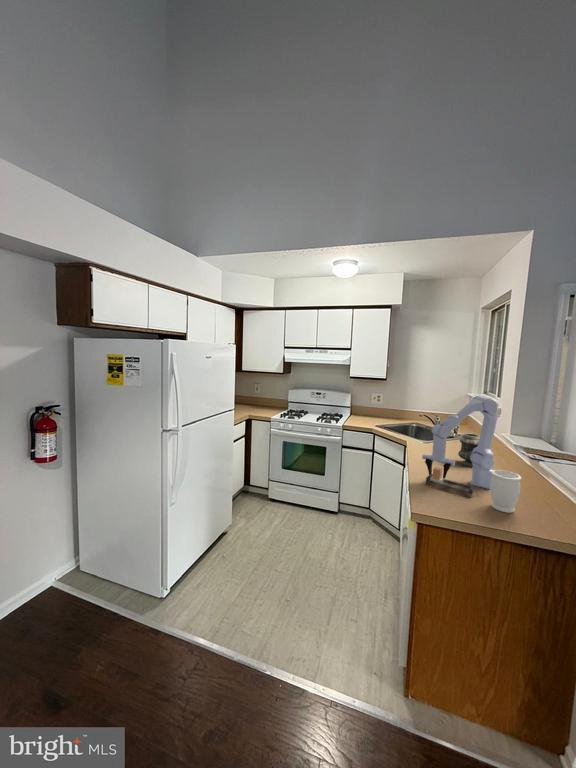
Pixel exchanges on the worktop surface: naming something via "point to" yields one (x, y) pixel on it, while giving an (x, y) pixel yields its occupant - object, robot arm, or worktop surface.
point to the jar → (504, 490)
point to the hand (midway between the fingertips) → (437, 476)
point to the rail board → (452, 487)
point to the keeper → (437, 475)
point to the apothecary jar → (468, 448)
